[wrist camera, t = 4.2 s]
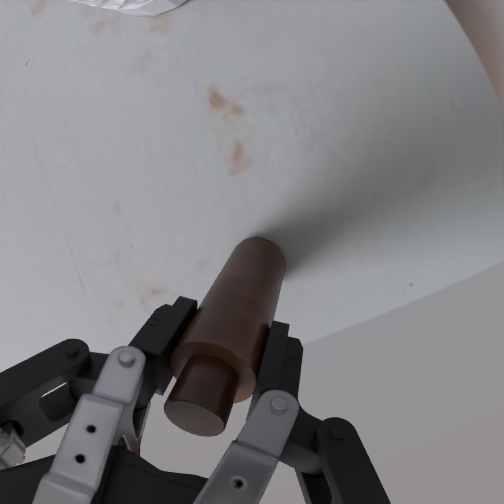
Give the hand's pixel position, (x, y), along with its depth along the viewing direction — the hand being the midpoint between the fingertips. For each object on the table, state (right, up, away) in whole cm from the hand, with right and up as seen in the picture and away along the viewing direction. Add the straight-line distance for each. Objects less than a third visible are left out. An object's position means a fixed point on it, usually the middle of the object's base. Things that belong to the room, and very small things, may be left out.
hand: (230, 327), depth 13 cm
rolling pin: (+1, +2, +6) cm, 6 cm away
